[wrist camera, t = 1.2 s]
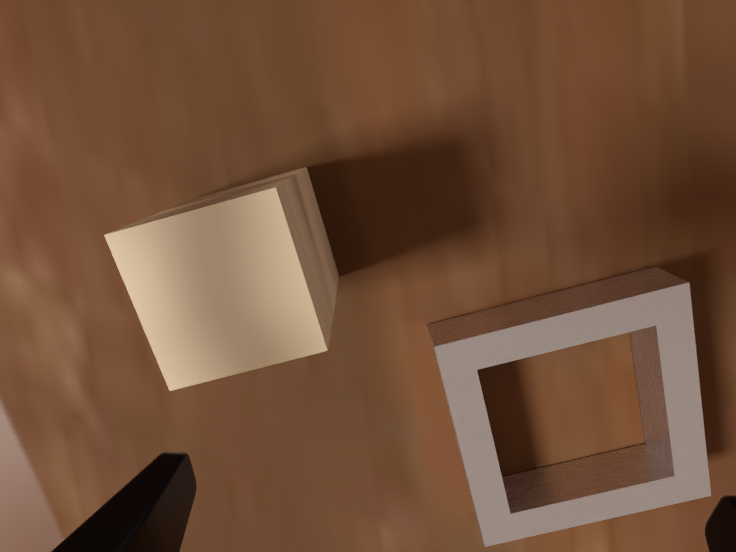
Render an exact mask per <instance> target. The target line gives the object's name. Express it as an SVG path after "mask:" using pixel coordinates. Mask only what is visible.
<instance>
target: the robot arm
mask: <svg viewBox="0 0 736 552" xmlns="http://www.w3.org/2000/svg"><path fill="white" fill-rule="evenodd" d="M195 493H196V479H195V475H194V472H193V468H192V464H191V461H190V458H189V455H188V454H187V453H184V452H173V451H166V452H164V453H162V454H160V455H159V456H158V457H157V458H156V459H154V460H153V461H152V462H151V463H150V464H149V465H148V466H147V467H145V468H144V469H143V470H142V471H141V472H140V473H139V474H138V475H137V476H135V477H134V478H133V479H132V480H131V481H130V482H129V483H128V484H126V485H125V486H124V487H123V488H122V489H121V490H120V491H119V492H117V493H116V494H115V495H114V496H113V497H112V498H111V499H110V500H109V501H107V502H106V503H105V504H104V505H103V506H102V507H101V508H100V509H98V510H97V511H96V512H95V513H94V514H93V515H92V516H91V517H89V518H88V519H87V520H86V521H85V522H84V523H83V524H82V525H81V526H79V527H78V528H77V529H76V530H75V531H74V532H73V533H72V534H70V535H69V536H68V537H67V538H66V539H65V540H64V541H63V542H61V543H60V544H59V545H58V546H57V547H56V548H55V549H54V550H53V551H52V552H179V551H180V548H181V544H182V540H183V537H184V533H185V530H186V526H187V523H188V519H189V515H190V512H191V508H192V505H193V501H194V498H195ZM705 537H706V541H707V545H708V548H709V552H736V496H731V495H726V496H724V497H722V498H721V499H720V501H719V502H718V504H717V506H716V507H715V509H714V511H713V512H712V514H711V516H710V517H709V519H708V521H707V523H706V526H705Z"/></svg>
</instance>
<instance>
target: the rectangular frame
mask: <svg viewBox="0 0 736 552" xmlns="http://www.w3.org/2000/svg"><path fill="white" fill-rule="evenodd" d="M427 328H428V331H429V335H430V339H431V343H432V347H433V351H434V355H435V359H436V363H437V367H438V371H439V374H440V378H441V382H442V386H443V390H444V394H445V398H446V402H447V406H448V410H449V414H450V417H451V421H452V425H453V429H454V433H455V437H456V441H457V445H458V449H459V453H460V457H461V460H462V464H463V468H464V472H465V476H466V480H467V484H468V488H469V492H470V496H471V500H472V504H473V507H474V511H475V514H476V518H477V521H478V525H479V528H480V531H481V535H482V538H483V542H484V545H485V547H487V546H491V545H495V544H500V543H504V542H509V541H513V540H517V539H522V538H526V537H531V536H535V535H540V534H544V533H548V532H553V531H557V530H562V529H566V528H570V527H575V526H579V525H584V524H588V523H593V522H597V521H601V520H606V519H610V518H615V517H619V516H623V515H628V514H632V513H637V512H641V511H646V510H650V509H654V508H659V507H663V506H668V505H672V504H676V503H681V502H685V501H690V500H694V499H699V498H703V497H707V496H711V490H710V480H709V471H708V461H707V451H706V441H705V431H704V421H703V412H702V402H701V392H700V382H699V372H698V362H697V353H696V343H695V333H694V323H693V313H692V303H691V294H690V284H689V282H688V281H685V280H683V279H681V278H679V277H677V276H675V275H673V274H670V273H668V272H666V271H664V270H662V269H660V268H658V267H651V268H647V269H643V270H639V271H635V272H631V273H627V274H623V275H619V276H615V277H612V278H608V279H604V280H600V281H596V282H592V283H588V284H584V285H580V286H576V287H572V288H568V289H565V290H561V291H557V292H553V293H549V294H545V295H541V296H537V297H533V298H529V299H525V300H521V301H518V302H514V303H510V304H506V305H502V306H498V307H494V308H490V309H486V310H482V311H478V312H475V313H471V314H467V315H463V316H459V317H455V318H451V319H447V320H443V321H439V322H435V323H431V324H428V325H427ZM628 332H630V338H631V345H632V352H633V360H634V367H635V374H636V381H637V388H638V396H639V403H640V410H641V417H642V424H643V431H644V439H645V444H640V445H636V446H632V447H628V448H623V449H619V450H615V451H611V452H606V453H602V454H598V455H594V456H589V457H585V458H581V459H576V460H572V461H568V462H564V463H559V464H555V465H551V466H547V467H542V468H538V469H534V470H530V471H525V472H521V473H517V474H512V475H508V476H504V477H502V475H501V471H500V466H499V462H498V458H497V453H496V449H495V445H494V440H493V436H492V432H491V428H490V423H489V419H488V415H487V410H486V406H485V402H484V398H483V393H482V389H481V385H480V380H479V376H478V372H477V370H479V369H483V368H487V367H491V366H495V365H499V364H503V363H507V362H511V361H515V360H519V359H523V358H527V357H531V356H535V355H539V354H543V353H547V352H551V351H555V350H559V349H563V348H567V347H571V346H575V345H579V344H583V343H587V342H591V341H595V340H600V339H604V338H608V337H612V336H616V335H620V334H624V333H628Z"/></svg>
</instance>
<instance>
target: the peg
mask: <svg viewBox="0 0 736 552" xmlns="http://www.w3.org/2000/svg"><path fill="white" fill-rule="evenodd" d="M104 236H105V238H106V241H107V243H108V245H109V248H110V250H111V252H112V255H113V257H114V260H115V262H116V264H117V267H118V269H119V271H120V274H121V276H122V279H123V281H124V283H125V286H126V288H127V291H128V293H129V295H130V298H131V300H132V302H133V305H134V307H135V310H136V312H137V314H138V317H139V319H140V321H141V324H142V326H143V329H144V331H145V333H146V336H147V338H148V341H149V343H150V345H151V348H152V350H153V352H154V355H155V357H156V360H157V362H158V364H159V367H160V369H161V371H162V374H163V376H164V379H165V381H166V383H167V386H168V388H169V391H172V390H176V389H180V388H183V387H187V386H191V385H195V384H199V383H203V382H207V381H211V380H215V379H219V378H223V377H227V376H230V375H234V374H238V373H242V372H246V371H250V370H254V369H258V368H262V367H266V366H270V365H274V364H277V363H281V362H285V361H289V360H293V359H297V358H301V357H305V356H309V355H313V354H317V353H321V352H324V351H328V345H329V339H330V333H331V326H332V320H333V314H334V307H335V301H336V295H337V288H338V282H339V274H338V271H337V267H336V264H335V261H334V257H333V254H332V251H331V247H330V244H329V241H328V237H327V234H326V230H325V227H324V224H323V220H322V217H321V214H320V210H319V207H318V204H317V200H316V197H315V194H314V190H313V187H312V184H311V180H310V177H309V173H308V170H307V167H304V168H301V169H297V170H293V171H290V172H286V173H283V174H279V175H276V176H272V177H268V178H265V179H261V180H258V181H254V182H250V183H247V184H243V185H240V186H236V187H233V188H229V189H225V190H222V191H218V192H215V193H211V194H207V195H204V196H200V197H197V198H194V199H191V200H189V201H186V202H184V203H181V204H179V205H176V206H174V207H171V208H169V209H167V210H164V211H162V212H159V213H157V214H154V215H152V216H149V217H147V218H144V219H142V220H140V221H137V222H135V223H132V224H130V225H127V226H125V227H122V228H120V229H117V230H115V231H113V232H110V233H108V234H105V235H104Z"/></svg>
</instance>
